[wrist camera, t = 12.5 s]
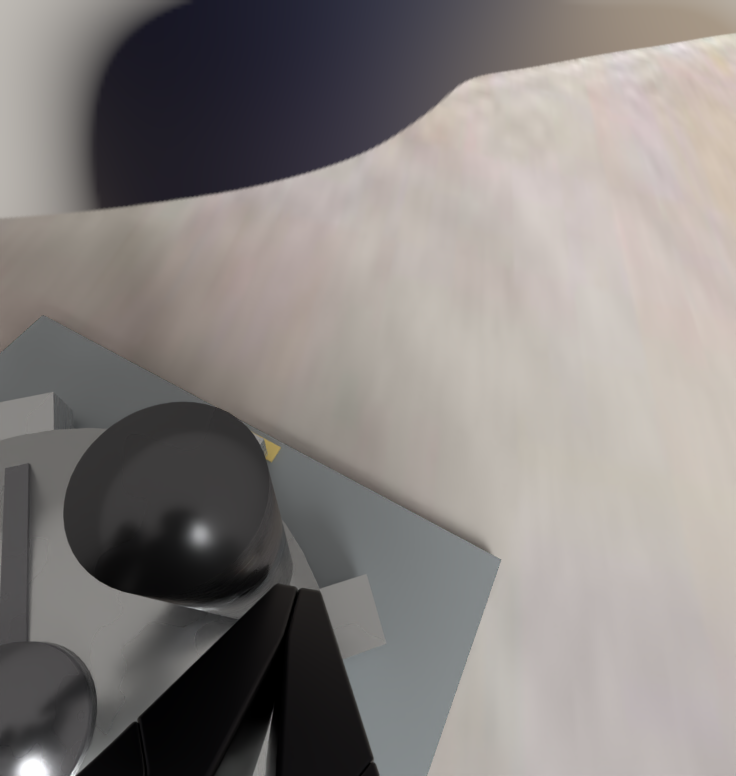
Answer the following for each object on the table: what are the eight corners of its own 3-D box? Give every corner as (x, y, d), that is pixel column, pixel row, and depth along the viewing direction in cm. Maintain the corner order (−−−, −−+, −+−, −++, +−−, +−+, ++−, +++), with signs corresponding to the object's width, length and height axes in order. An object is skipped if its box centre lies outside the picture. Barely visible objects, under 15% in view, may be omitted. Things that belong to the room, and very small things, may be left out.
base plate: (86, 1737, 7) (68, 1827, 7) (-662, 971, 10) (-720, 990, 9) (496, 561, 16) (502, 559, 15) (49, 322, 18) (41, 313, 18)
